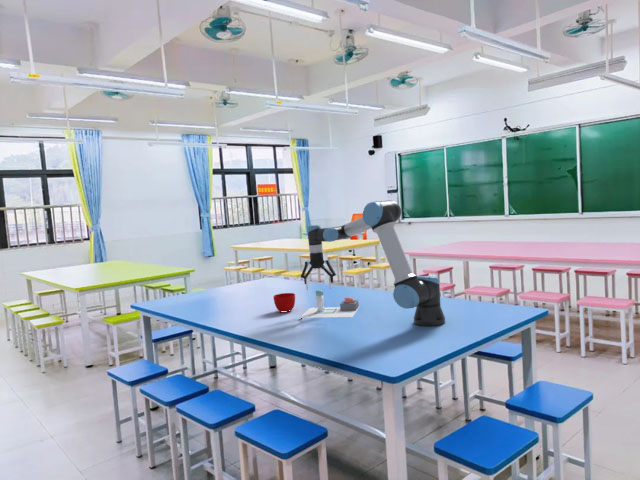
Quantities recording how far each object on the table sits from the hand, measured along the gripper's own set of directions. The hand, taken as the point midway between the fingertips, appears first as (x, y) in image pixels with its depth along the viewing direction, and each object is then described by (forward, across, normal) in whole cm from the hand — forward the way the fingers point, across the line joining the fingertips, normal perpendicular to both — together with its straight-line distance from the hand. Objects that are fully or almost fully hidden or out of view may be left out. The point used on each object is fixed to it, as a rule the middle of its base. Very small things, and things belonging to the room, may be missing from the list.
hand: (319, 289), depth 264 cm
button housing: (+13, -16, -5) cm, 21 cm away
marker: (+13, 0, 0) cm, 13 cm away
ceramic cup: (+14, +24, -9) cm, 30 cm away
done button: (+11, -16, -5) cm, 20 cm away
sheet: (+14, -6, +2) cm, 15 cm away
